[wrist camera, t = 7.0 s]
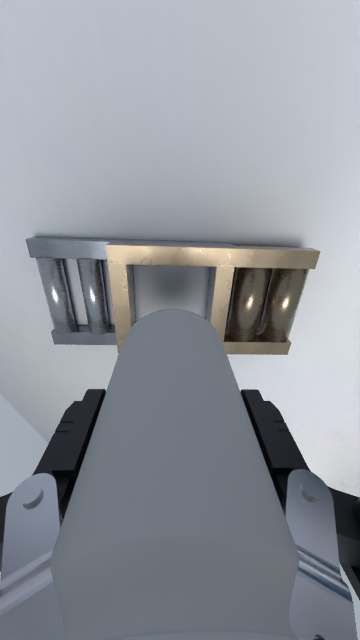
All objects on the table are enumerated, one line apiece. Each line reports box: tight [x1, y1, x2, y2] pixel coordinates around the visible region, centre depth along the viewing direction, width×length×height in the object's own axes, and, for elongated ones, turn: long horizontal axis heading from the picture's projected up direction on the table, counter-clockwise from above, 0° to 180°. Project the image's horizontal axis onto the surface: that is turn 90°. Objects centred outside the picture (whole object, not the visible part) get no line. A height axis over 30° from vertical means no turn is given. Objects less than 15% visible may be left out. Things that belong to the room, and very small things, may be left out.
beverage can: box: [50, 309, 300, 640], centre depth 10 cm, size 6×6×12 cm
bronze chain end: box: [106, 242, 320, 355], centre depth 22 cm, size 11×18×3 cm, turn 88°
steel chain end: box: [26, 237, 231, 345], centre depth 22 cm, size 11×18×2 cm, turn 88°
